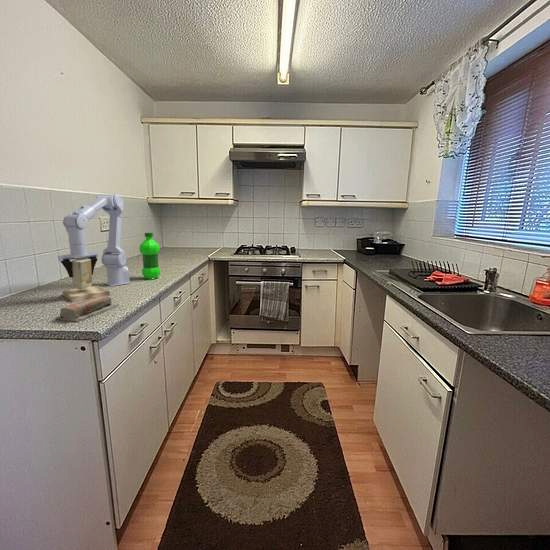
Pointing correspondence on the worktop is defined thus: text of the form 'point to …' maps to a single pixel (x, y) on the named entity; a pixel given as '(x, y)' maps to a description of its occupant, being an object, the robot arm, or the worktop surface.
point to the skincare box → (81, 273)
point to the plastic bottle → (150, 257)
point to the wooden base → (85, 293)
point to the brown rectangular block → (87, 309)
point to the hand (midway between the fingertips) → (81, 275)
